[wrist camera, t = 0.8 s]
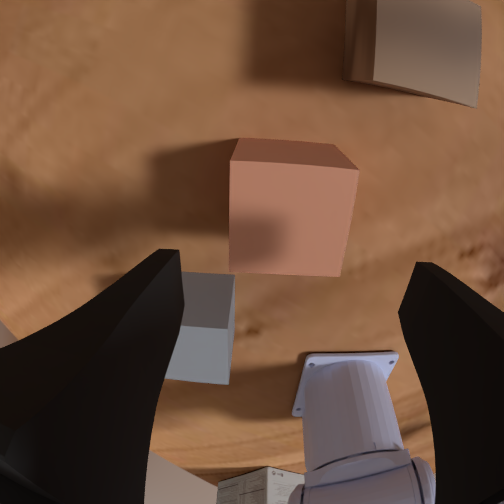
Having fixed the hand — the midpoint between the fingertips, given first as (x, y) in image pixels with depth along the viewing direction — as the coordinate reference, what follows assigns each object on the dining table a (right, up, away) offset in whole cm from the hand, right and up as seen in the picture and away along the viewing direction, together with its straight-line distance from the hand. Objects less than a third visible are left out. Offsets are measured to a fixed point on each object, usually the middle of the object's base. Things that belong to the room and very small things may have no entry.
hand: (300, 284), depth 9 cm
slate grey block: (-5, -2, +12) cm, 14 cm away
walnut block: (+6, +12, +3) cm, 14 cm away
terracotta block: (0, +5, +8) cm, 9 cm away
